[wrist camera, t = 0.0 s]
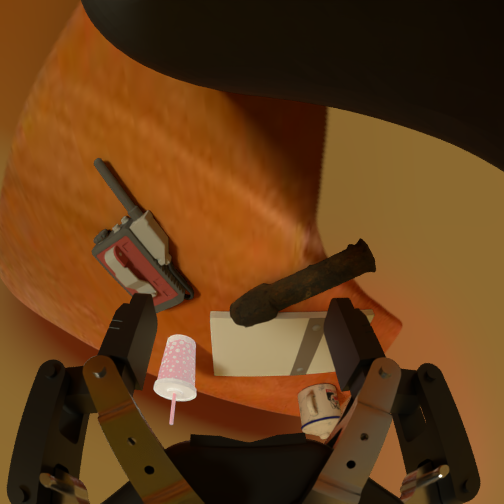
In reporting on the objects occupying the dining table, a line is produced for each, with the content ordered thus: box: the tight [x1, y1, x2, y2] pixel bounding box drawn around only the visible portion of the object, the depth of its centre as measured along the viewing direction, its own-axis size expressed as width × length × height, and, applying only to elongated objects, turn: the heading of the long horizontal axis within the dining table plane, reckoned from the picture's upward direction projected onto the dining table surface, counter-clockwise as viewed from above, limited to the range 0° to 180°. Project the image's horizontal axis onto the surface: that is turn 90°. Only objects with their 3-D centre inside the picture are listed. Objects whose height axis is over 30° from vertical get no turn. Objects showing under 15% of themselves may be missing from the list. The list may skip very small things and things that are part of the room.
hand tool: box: [230, 239, 376, 328], centre depth 32 cm, size 19×4×5 cm, turn 116°
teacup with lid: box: [298, 384, 342, 439], centre depth 48 cm, size 12×9×12 cm
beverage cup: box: [154, 335, 196, 425], centre depth 35 cm, size 6×6×14 cm
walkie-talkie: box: [92, 158, 194, 313], centre depth 28 cm, size 9×4×20 cm
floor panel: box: [210, 309, 375, 376], centre depth 41 cm, size 16×24×2 cm, turn 86°
